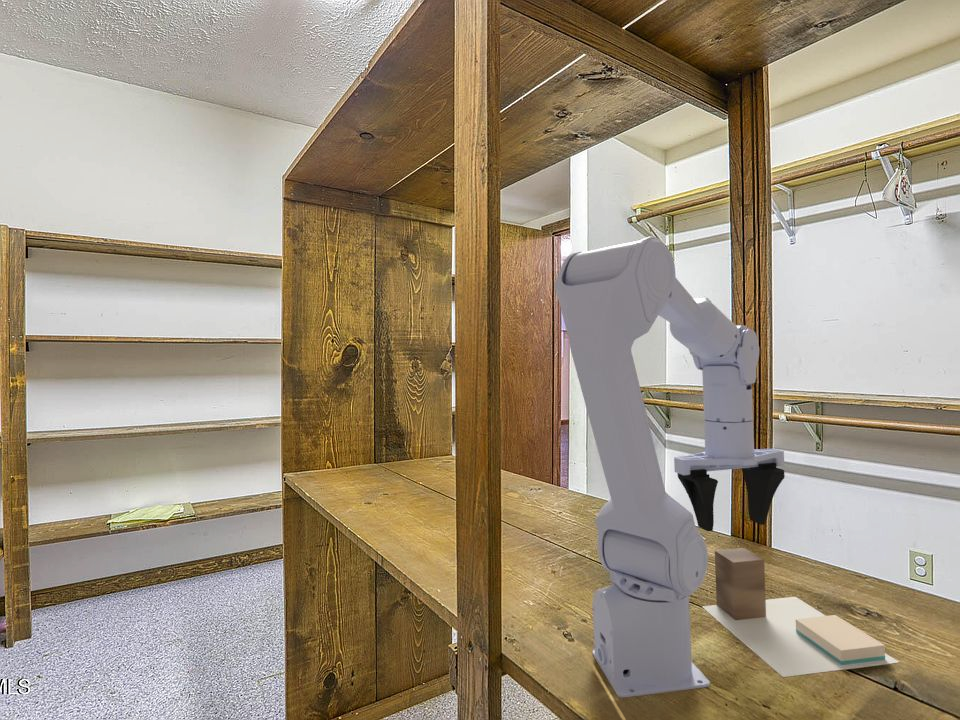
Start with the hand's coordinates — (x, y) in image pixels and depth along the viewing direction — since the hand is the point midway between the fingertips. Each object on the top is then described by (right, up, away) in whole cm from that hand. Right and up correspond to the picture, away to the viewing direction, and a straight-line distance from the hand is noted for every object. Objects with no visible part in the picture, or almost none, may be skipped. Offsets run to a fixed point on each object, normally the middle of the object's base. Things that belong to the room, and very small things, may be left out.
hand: (731, 525), depth 68 cm
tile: (+6, -9, -7) cm, 13 cm away
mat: (+3, -10, -7) cm, 13 cm away
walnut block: (0, -10, -2) cm, 10 cm away
